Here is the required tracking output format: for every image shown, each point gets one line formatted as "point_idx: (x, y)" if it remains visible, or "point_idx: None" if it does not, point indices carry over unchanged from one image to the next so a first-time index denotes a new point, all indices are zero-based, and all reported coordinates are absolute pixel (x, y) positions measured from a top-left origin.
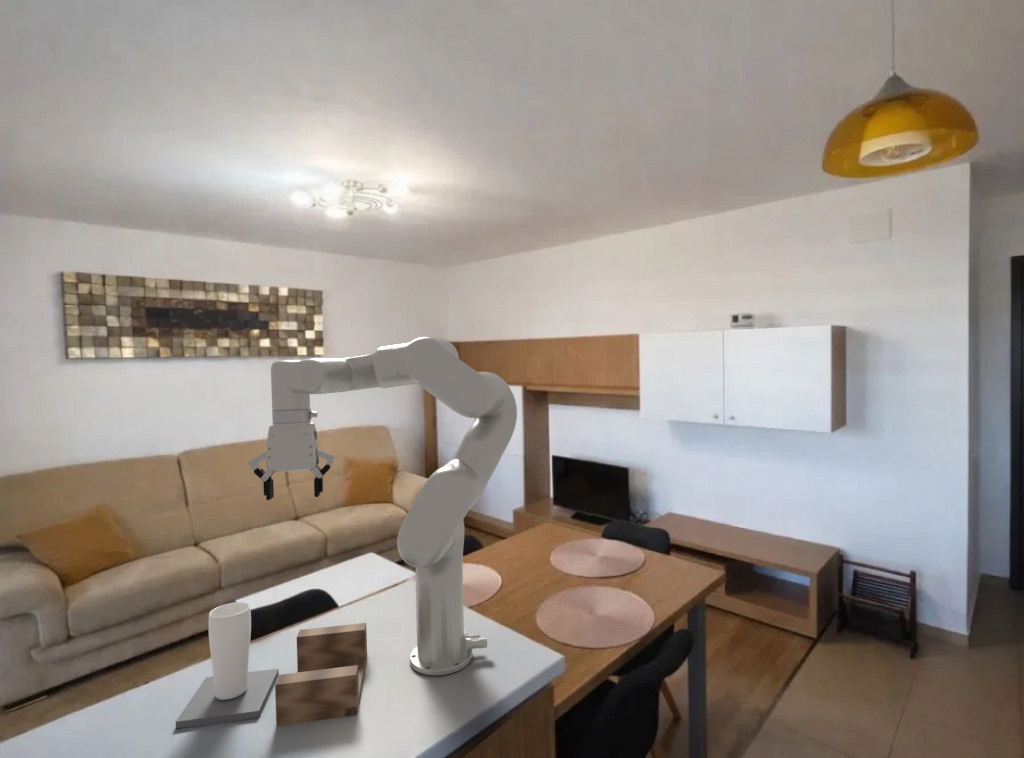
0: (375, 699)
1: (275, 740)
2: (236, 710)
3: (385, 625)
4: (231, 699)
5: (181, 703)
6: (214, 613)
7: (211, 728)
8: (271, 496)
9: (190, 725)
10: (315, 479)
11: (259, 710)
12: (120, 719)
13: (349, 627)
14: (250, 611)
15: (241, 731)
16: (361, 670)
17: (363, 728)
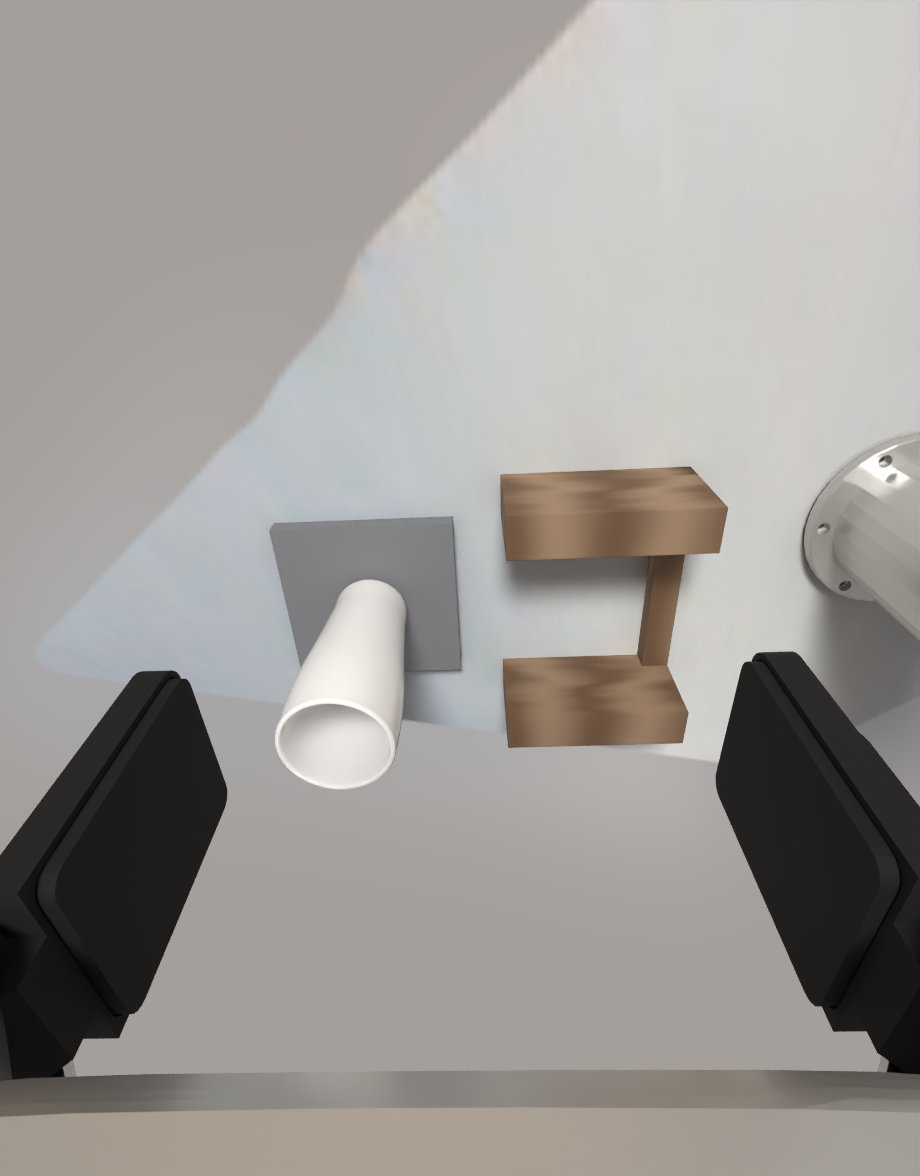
0: (697, 644)
1: None
2: (412, 662)
3: (775, 251)
4: None
5: (262, 590)
6: (283, 727)
7: None
8: (205, 771)
9: None
10: (838, 1019)
11: (460, 666)
12: (163, 621)
13: (670, 530)
14: (395, 723)
15: (440, 688)
16: (676, 577)
17: None
